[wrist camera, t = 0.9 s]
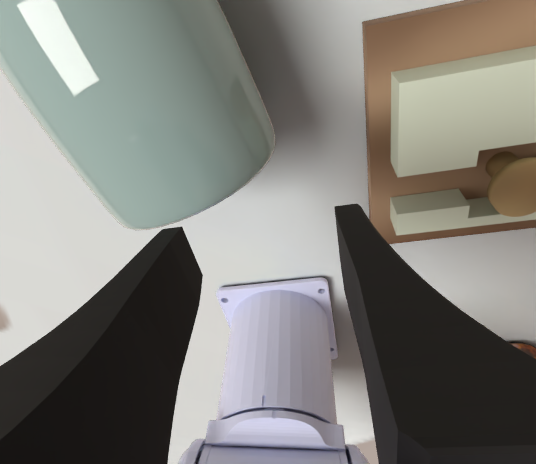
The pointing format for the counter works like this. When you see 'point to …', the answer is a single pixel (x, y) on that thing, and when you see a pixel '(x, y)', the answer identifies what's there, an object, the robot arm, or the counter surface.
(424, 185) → the board
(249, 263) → the counter surface
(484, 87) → the panel
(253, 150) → the cup
